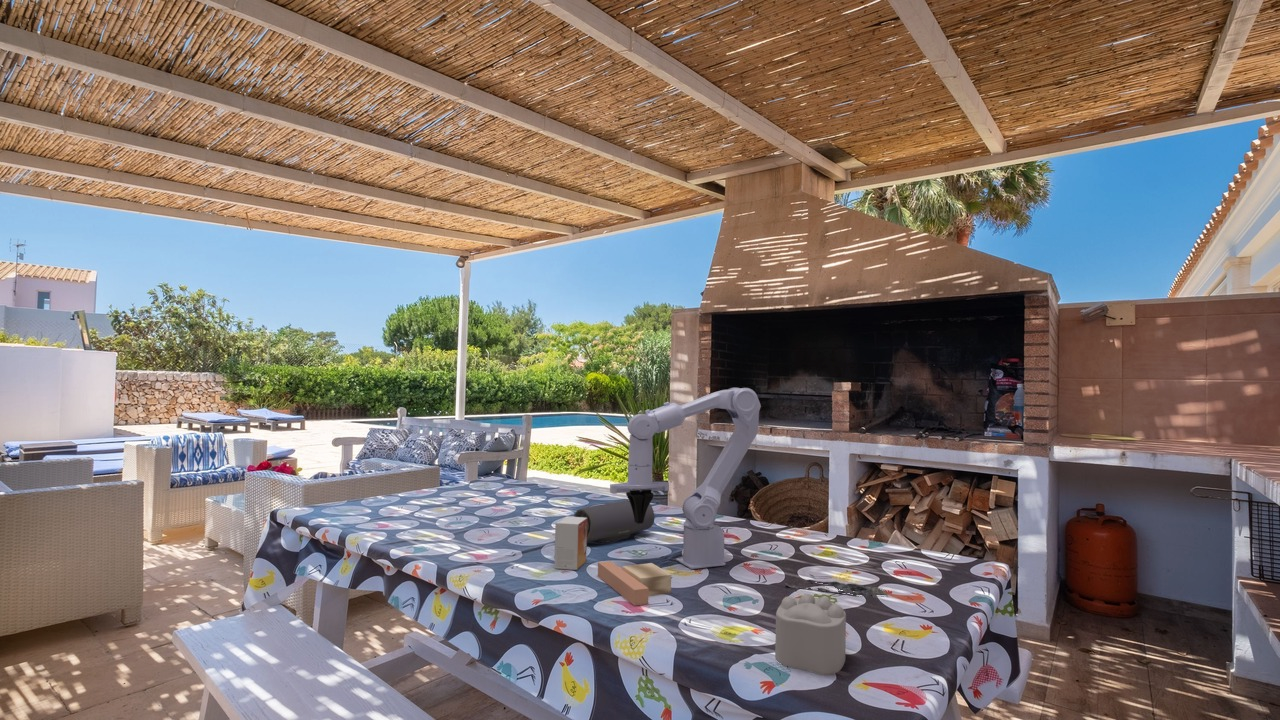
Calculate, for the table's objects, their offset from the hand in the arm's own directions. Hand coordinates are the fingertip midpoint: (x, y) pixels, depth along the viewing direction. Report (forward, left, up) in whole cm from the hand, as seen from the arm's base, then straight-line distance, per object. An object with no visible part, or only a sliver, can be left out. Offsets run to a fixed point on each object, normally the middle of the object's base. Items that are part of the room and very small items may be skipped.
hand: (638, 522), depth 150 cm
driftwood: (-33, +30, -11) cm, 46 cm away
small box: (+15, -5, -10) cm, 19 cm away
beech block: (+5, +16, -10) cm, 20 cm away
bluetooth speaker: (-4, -25, -10) cm, 27 cm away
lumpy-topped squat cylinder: (-6, +55, -10) cm, 56 cm away
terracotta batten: (+11, +15, -10) cm, 21 cm away
